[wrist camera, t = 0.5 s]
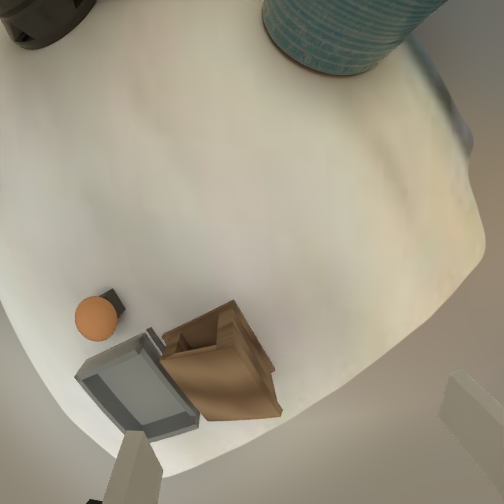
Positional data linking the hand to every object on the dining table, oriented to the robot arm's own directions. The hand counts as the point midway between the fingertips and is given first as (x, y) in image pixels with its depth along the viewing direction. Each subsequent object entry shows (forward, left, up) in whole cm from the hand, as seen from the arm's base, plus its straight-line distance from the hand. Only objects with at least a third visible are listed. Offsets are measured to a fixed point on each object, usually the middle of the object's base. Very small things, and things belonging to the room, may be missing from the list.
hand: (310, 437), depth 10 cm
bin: (+7, -21, -25) cm, 34 cm away
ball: (-5, -18, -21) cm, 28 cm away
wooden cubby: (+7, -9, -25) cm, 28 cm away
